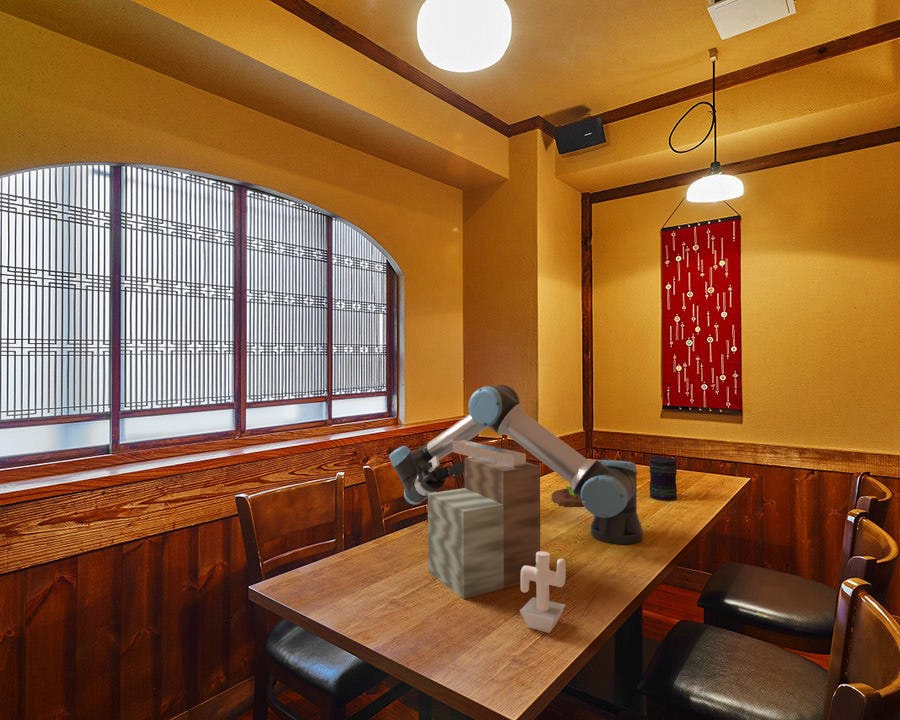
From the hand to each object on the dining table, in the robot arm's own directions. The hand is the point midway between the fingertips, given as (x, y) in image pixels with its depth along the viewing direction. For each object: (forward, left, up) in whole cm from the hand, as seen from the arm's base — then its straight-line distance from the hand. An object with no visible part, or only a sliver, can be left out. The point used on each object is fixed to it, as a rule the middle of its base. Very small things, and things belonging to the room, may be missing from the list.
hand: (458, 457), depth 156 cm
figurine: (-39, +32, -26) cm, 56 cm away
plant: (-17, -62, -26) cm, 69 cm away
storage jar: (-44, -83, -26) cm, 97 cm away
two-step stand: (-17, +16, -25) cm, 34 cm away
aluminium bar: (-14, +9, +3) cm, 17 cm away
